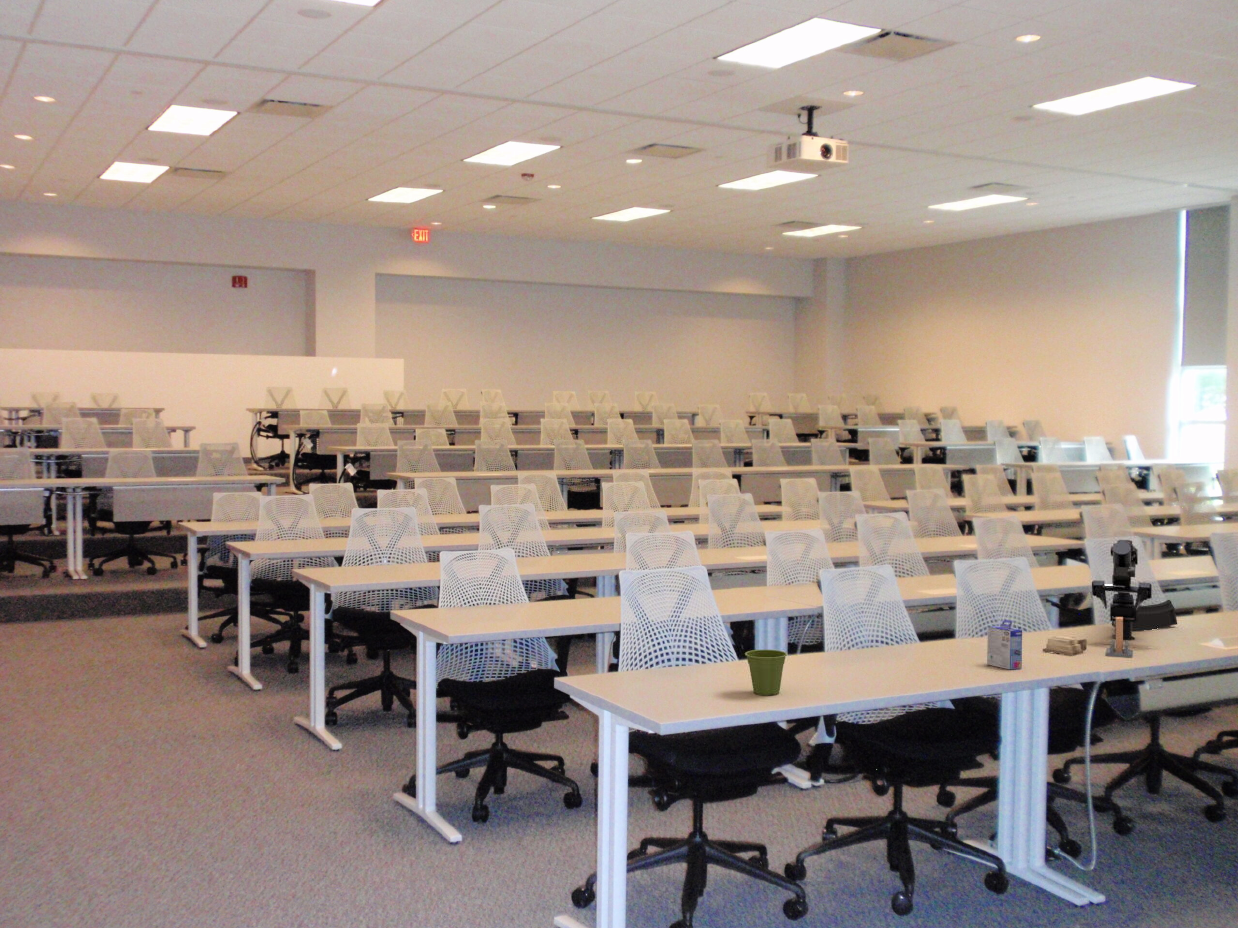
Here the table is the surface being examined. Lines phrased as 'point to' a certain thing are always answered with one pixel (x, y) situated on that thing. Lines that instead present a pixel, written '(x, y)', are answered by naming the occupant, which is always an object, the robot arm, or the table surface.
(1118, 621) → the tall peach slab
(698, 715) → the table surface
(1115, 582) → the robot arm
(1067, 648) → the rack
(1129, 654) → the holder
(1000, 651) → the ink cartridge box
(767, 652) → the plant pot
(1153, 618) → the magazine
